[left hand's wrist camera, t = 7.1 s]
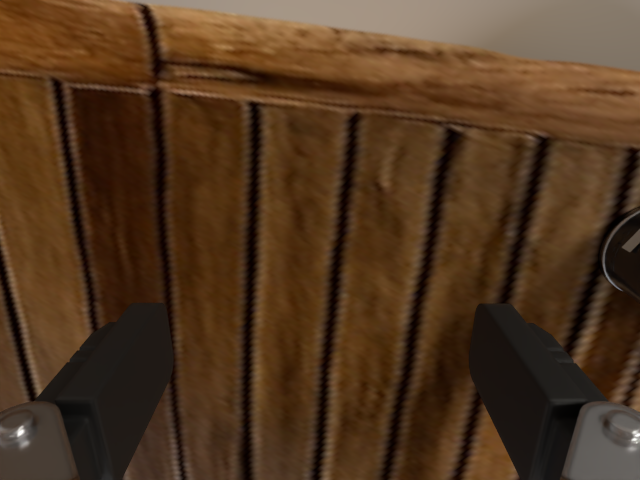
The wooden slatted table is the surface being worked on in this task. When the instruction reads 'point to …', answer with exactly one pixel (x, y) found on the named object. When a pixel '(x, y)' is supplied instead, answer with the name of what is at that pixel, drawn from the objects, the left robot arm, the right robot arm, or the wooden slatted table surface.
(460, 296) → the wooden slatted table surface
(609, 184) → the wooden slatted table surface
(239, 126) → the wooden slatted table surface
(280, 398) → the wooden slatted table surface
